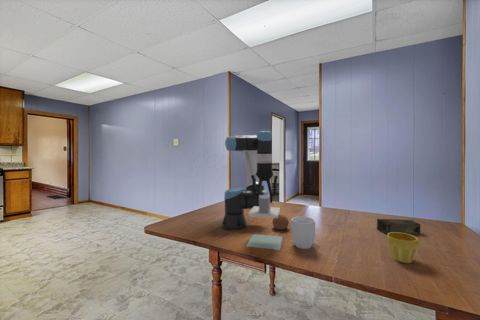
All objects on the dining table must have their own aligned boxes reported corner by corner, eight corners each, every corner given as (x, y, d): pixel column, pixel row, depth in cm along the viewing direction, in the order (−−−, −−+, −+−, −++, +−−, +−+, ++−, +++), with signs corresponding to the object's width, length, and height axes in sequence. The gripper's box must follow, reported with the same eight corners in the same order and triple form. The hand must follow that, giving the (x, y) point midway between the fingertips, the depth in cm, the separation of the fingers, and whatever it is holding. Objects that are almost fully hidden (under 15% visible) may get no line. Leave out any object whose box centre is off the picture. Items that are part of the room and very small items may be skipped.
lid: (248, 216, 106) (247, 199, 105) (254, 208, 119) (253, 193, 119) (277, 218, 102) (277, 200, 101) (280, 209, 115) (280, 194, 115)
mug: (304, 238, 115) (304, 213, 115) (324, 244, 107) (324, 218, 106) (286, 246, 106) (286, 219, 105) (306, 254, 97) (306, 225, 97)
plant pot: (381, 254, 96) (381, 232, 96) (403, 252, 97) (403, 231, 97) (400, 266, 86) (400, 241, 86) (424, 264, 87) (425, 240, 86)
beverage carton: (421, 235, 117) (421, 222, 117) (383, 234, 119) (383, 222, 119) (411, 229, 125) (411, 218, 125) (375, 229, 127) (375, 218, 127)
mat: (246, 247, 105) (246, 246, 105) (253, 235, 121) (253, 234, 121) (280, 250, 101) (279, 249, 101) (282, 237, 116) (282, 236, 116)
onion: (274, 234, 128) (266, 219, 129) (283, 226, 135) (275, 211, 135) (286, 233, 121) (277, 217, 122) (294, 224, 128) (286, 209, 128)
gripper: (246, 162, 108) (246, 209, 109) (281, 163, 103) (281, 211, 105) (249, 161, 115) (249, 205, 116) (282, 162, 111) (282, 207, 112)
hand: (264, 208), depth 110 cm, fingers closed on lid, 4 cm apart
